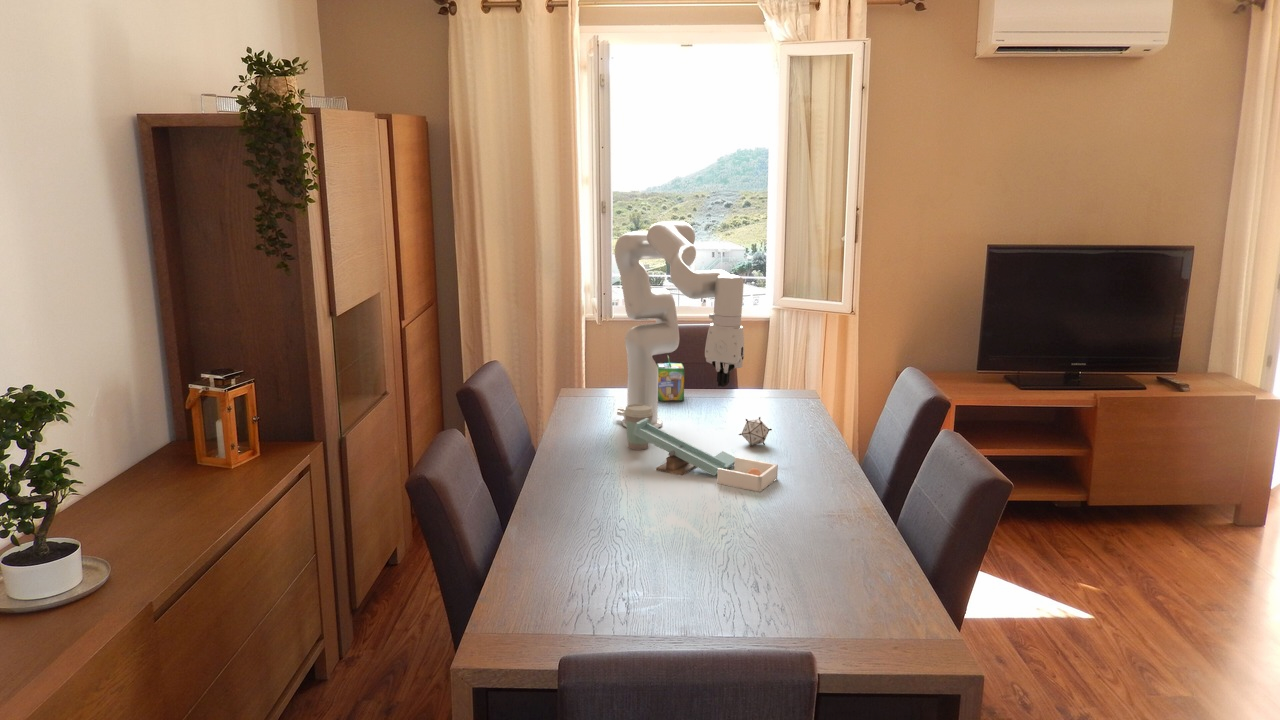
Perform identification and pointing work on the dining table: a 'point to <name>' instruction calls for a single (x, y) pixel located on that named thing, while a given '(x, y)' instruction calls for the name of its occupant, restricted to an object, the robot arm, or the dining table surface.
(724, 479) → the tray
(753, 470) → the ball
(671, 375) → the chalk box
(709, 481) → the dining table surface
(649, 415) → the coffee cup
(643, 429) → the lever
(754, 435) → the game die
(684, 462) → the fulcrum
